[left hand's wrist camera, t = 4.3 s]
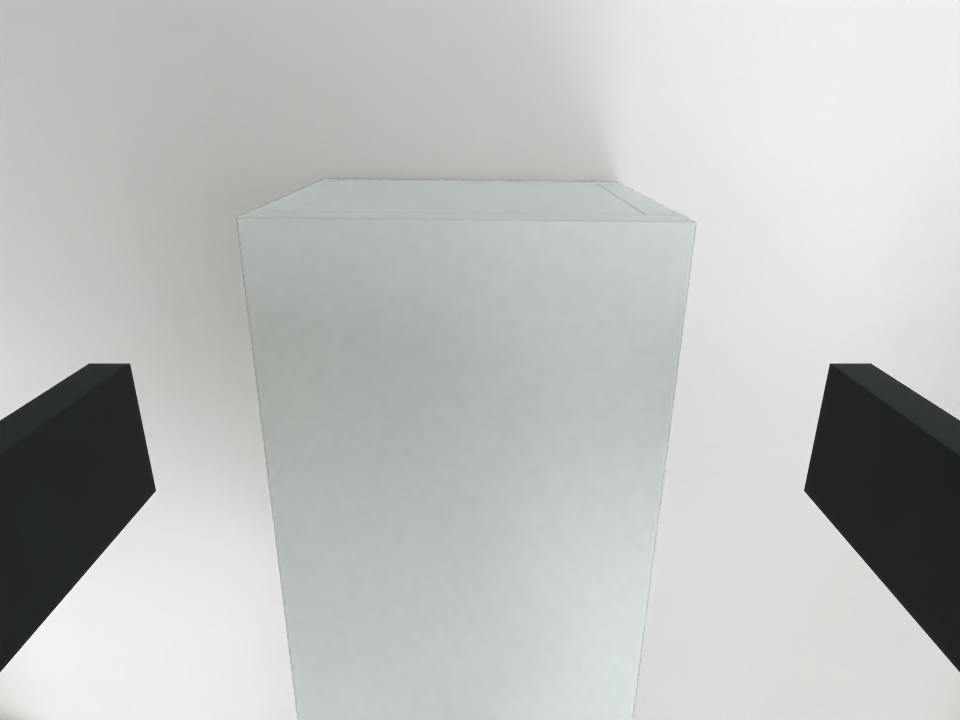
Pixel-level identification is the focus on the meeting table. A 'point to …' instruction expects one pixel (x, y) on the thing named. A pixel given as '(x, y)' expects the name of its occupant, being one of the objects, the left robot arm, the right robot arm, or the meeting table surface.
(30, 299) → the meeting table surface
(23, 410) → the left robot arm
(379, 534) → the cabinet
